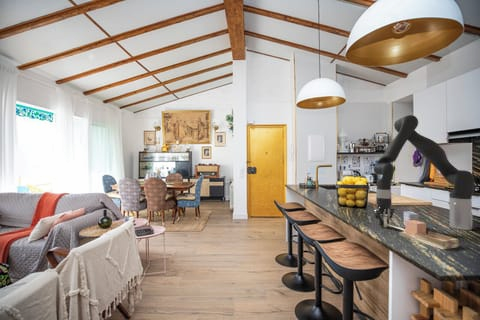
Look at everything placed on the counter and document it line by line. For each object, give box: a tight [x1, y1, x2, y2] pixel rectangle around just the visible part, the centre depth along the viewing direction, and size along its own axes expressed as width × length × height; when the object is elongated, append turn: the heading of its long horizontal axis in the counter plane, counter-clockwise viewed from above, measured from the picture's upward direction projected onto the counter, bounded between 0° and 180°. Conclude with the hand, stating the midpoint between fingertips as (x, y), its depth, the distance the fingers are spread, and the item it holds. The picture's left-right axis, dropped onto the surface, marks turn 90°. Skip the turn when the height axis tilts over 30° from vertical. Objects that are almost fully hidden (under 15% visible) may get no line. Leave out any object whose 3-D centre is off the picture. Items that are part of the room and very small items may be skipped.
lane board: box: [398, 230, 460, 251], centre depth 110 cm, size 10×20×4 cm, turn 16°
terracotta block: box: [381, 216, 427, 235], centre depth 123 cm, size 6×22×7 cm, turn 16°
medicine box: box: [403, 210, 420, 227], centre depth 132 cm, size 8×4×9 cm, turn 168°
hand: (384, 226), depth 133 cm, fingers closed on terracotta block, 3 cm apart
